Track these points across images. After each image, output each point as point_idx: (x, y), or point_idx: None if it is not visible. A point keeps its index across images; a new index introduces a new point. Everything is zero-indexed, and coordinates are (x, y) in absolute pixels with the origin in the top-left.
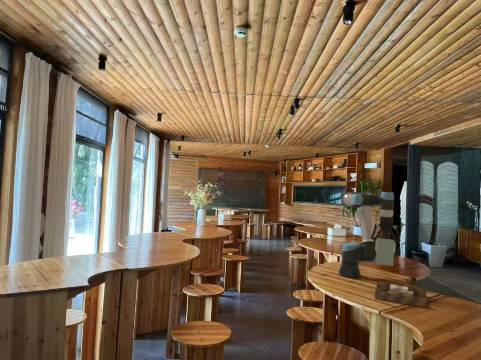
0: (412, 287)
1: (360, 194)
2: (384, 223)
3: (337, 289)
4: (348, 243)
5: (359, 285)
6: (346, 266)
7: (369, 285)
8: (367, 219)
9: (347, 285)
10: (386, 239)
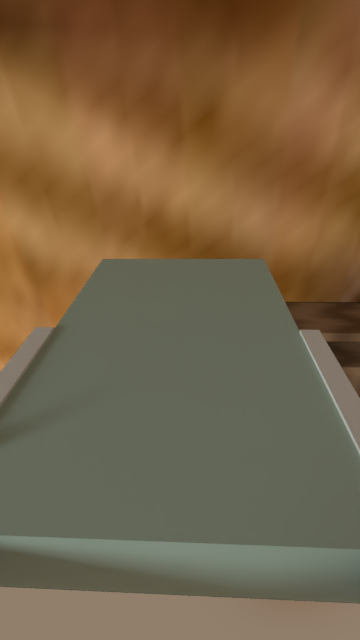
0: (343, 340)
1: None
2: None
3: (5, 356)
4: None
5: (54, 225)
6: None
7: (101, 183)
8: None
9: (5, 267)
10: (180, 582)
